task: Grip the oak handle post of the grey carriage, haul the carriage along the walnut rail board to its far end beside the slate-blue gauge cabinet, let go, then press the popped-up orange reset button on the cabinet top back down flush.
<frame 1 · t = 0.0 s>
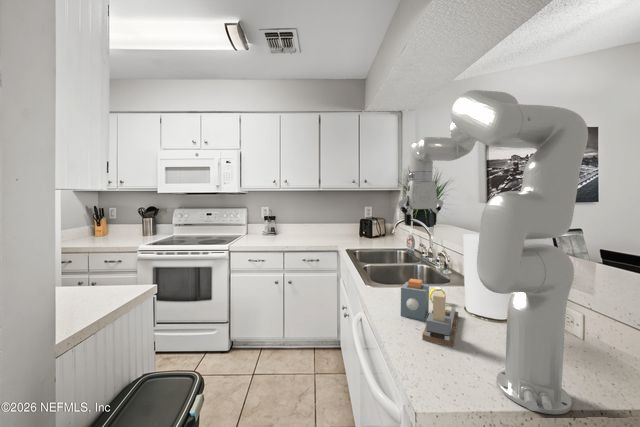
hand: (420, 225, 102), 31 cm above the worktop, tool pointing down, fingers open, 9 cm apart
watch: (437, 303, 111), on the worktop
carriage: (439, 311, 82), point 8 cm above the worktop, slide at 0.0 cm
end cabinet: (414, 314, 100), on the worktop
reset button: (415, 284, 99), point 10 cm above the worktop, slide at 0.0 cm
rail board: (441, 326, 90), on the worktop
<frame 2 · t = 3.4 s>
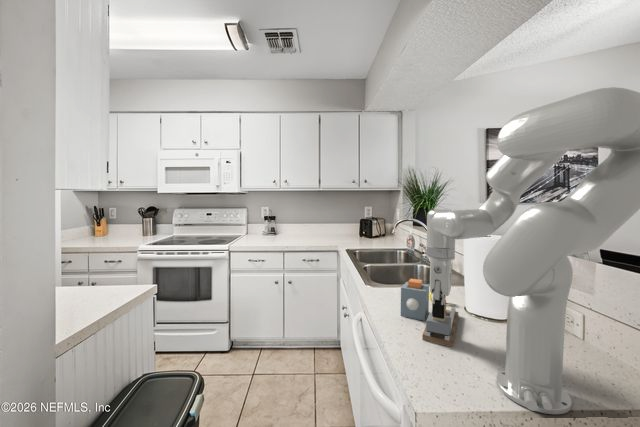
hand: (439, 314, 82), 7 cm above the worktop, tool pointing down, fingers closed on carriage, 3 cm apart
carriage: (439, 311, 82), point 8 cm above the worktop, slide at 0.0 cm, touching gripper
everything else where it was.
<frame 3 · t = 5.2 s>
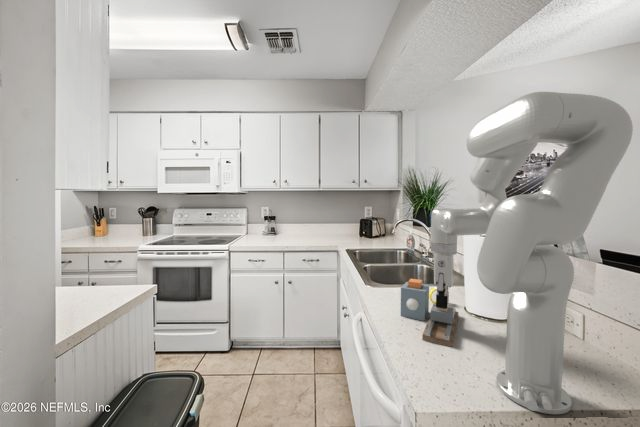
hand: (442, 305, 89), 7 cm above the worktop, tool pointing down, fingers closed on carriage, 3 cm apart
carriage: (442, 302, 89), point 8 cm above the worktop, slide at 8.1 cm, touching gripper
everything else where it was.
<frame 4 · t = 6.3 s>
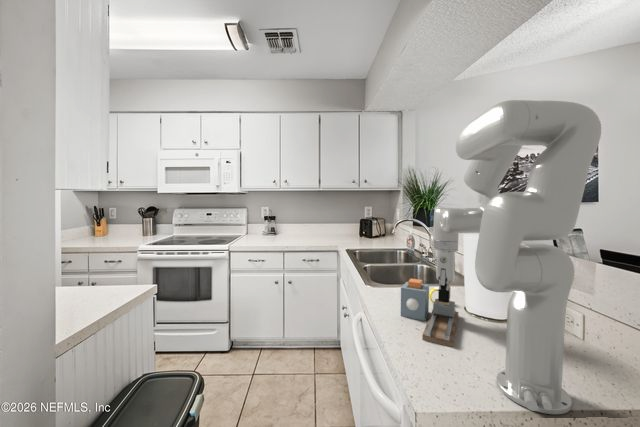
hand: (444, 299, 94), 7 cm above the worktop, tool pointing down, fingers closed on carriage, 3 cm apart
carriage: (444, 297, 94), point 8 cm above the worktop, slide at 13.8 cm, touching gripper
everything else where it was.
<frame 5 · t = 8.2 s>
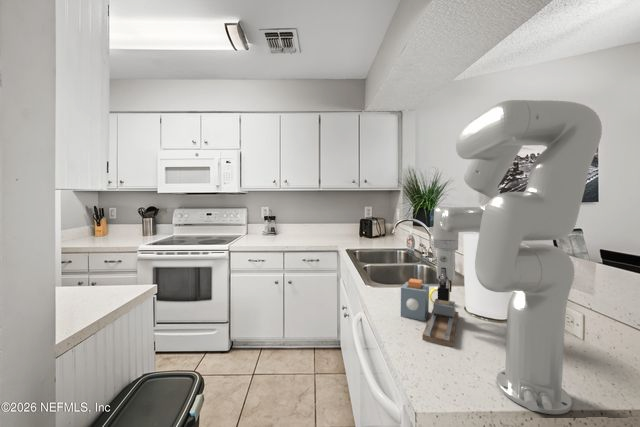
hand: (444, 295, 94), 9 cm above the worktop, tool pointing down, fingers open, 9 cm apart
carriage: (444, 296, 94), point 8 cm above the worktop, slide at 14.0 cm
everything else where it was.
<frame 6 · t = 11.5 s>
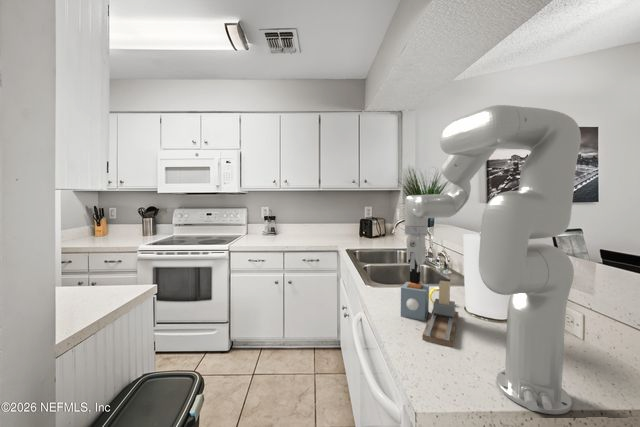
hand: (414, 282, 99), 11 cm above the worktop, tool pointing down, fingers closed
reset button: (415, 286, 99), point 10 cm above the worktop, slide at 0.7 cm, touching gripper
everything else where it was.
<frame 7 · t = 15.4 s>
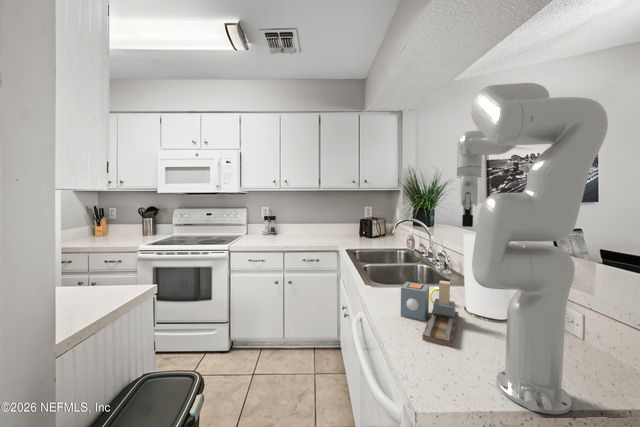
hand: (467, 226, 98), 31 cm above the worktop, tool pointing down, fingers closed
reset button: (415, 290, 99), point 9 cm above the worktop, slide at 1.9 cm
everything else where it was.
at the end: carriage slide at 14.0 cm; reset button slide at 1.9 cm; the gripper is holding nothing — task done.
